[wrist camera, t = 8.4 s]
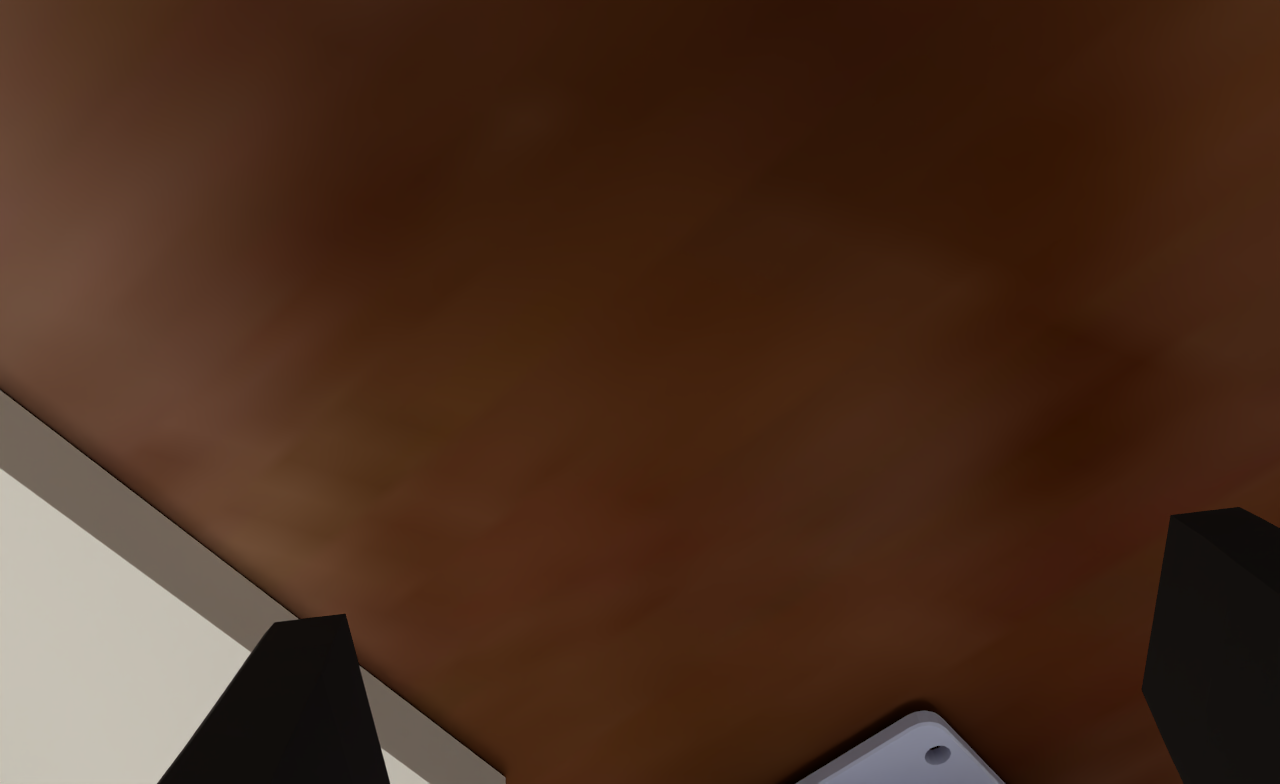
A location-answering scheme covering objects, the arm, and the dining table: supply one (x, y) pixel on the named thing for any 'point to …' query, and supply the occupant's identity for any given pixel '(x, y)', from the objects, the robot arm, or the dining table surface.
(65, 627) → the gear board
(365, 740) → the robot arm
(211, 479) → the dining table surface
